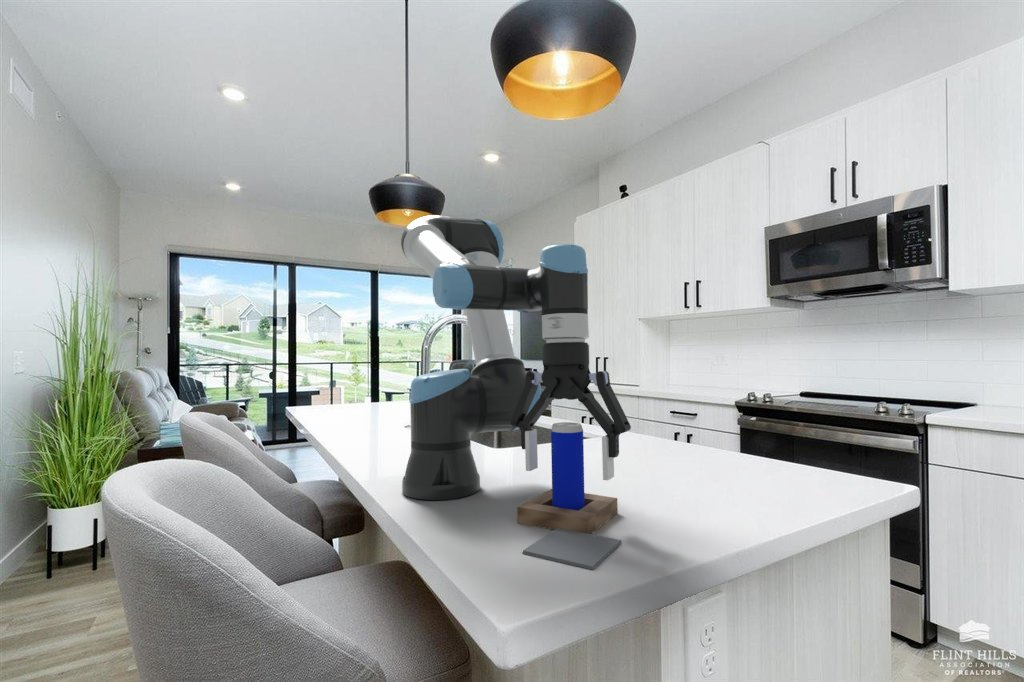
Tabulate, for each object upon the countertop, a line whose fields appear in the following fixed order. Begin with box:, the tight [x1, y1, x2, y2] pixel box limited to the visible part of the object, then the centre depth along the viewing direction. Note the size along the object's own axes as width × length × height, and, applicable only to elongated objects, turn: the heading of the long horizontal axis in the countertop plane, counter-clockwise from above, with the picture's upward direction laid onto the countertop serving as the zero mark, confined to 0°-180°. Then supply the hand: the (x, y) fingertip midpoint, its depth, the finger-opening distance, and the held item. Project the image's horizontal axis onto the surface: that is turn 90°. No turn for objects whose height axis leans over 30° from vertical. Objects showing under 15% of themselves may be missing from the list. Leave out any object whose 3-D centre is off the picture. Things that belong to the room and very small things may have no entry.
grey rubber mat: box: [522, 528, 622, 570], centre depth 68 cm, size 10×10×1 cm
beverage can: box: [550, 421, 585, 511], centre depth 81 cm, size 5×5×15 cm
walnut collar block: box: [516, 488, 619, 534], centre depth 81 cm, size 12×12×2 cm
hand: (568, 473), depth 81 cm, fingers open, 13 cm apart
